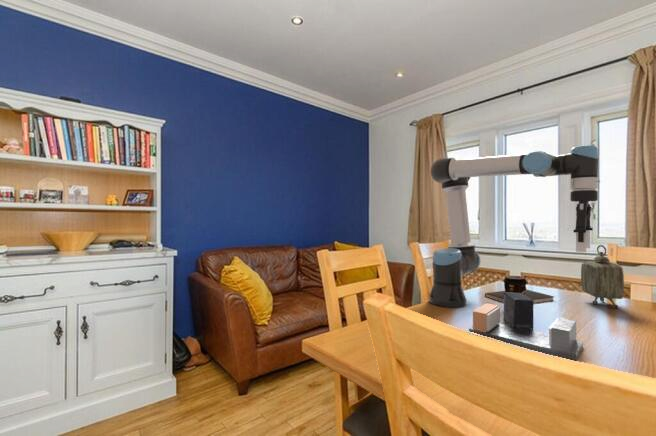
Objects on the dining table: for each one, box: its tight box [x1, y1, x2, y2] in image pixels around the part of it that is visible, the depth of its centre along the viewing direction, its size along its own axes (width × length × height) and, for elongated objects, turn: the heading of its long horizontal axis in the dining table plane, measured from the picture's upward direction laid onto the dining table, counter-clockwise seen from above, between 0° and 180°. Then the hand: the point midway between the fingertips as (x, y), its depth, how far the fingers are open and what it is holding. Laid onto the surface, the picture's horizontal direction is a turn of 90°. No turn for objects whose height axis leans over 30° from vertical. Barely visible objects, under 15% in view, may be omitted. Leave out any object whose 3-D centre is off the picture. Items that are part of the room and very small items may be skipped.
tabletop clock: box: [580, 244, 625, 309], centre depth 132 cm, size 14×9×25 cm, turn 162°
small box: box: [502, 292, 534, 331], centre depth 110 cm, size 11×6×10 cm, turn 168°
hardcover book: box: [484, 288, 555, 304], centre depth 144 cm, size 16×23×2 cm
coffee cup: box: [502, 275, 529, 296], centre depth 129 cm, size 9×8×13 cm
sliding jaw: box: [472, 303, 501, 333], centre depth 105 cm, size 5×12×6 cm, turn 135°
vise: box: [468, 316, 584, 362], centre depth 98 cm, size 28×12×8 cm, turn 45°
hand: (583, 250), depth 112 cm, fingers open, 13 cm apart
